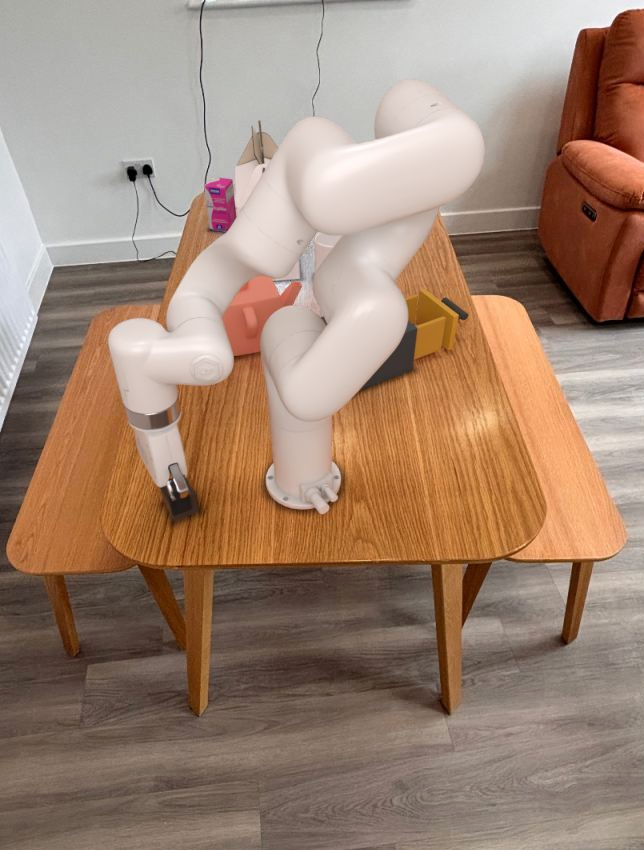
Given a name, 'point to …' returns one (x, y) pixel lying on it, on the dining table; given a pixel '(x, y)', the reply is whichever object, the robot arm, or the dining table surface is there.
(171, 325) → the robot arm
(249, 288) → the teapot
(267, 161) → the paper bag
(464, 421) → the dining table surface
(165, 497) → the block
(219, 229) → the supplement box
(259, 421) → the dining table surface
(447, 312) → the yellow drawer
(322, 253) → the mug
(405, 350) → the cabinet
